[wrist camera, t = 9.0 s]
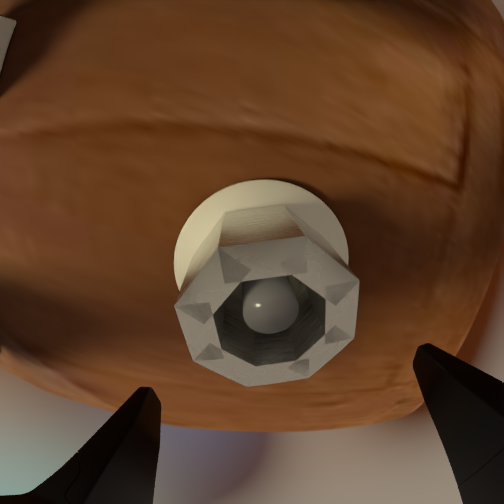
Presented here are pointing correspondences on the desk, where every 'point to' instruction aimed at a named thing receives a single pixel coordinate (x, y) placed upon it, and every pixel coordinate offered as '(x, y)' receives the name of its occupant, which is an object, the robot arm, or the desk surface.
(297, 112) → the desk surface
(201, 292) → the ring
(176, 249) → the hub post
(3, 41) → the medicine bottle
